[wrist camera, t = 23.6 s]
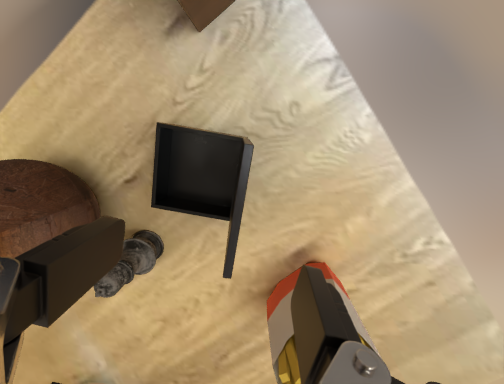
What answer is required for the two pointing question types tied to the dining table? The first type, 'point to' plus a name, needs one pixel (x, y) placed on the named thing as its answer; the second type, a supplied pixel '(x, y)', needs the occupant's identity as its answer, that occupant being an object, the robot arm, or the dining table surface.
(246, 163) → the box lid
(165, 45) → the dining table surface
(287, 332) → the french fries container
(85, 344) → the dining table surface
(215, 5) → the pedestal
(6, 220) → the wooden sphere
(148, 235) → the grey chess piece
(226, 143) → the box
